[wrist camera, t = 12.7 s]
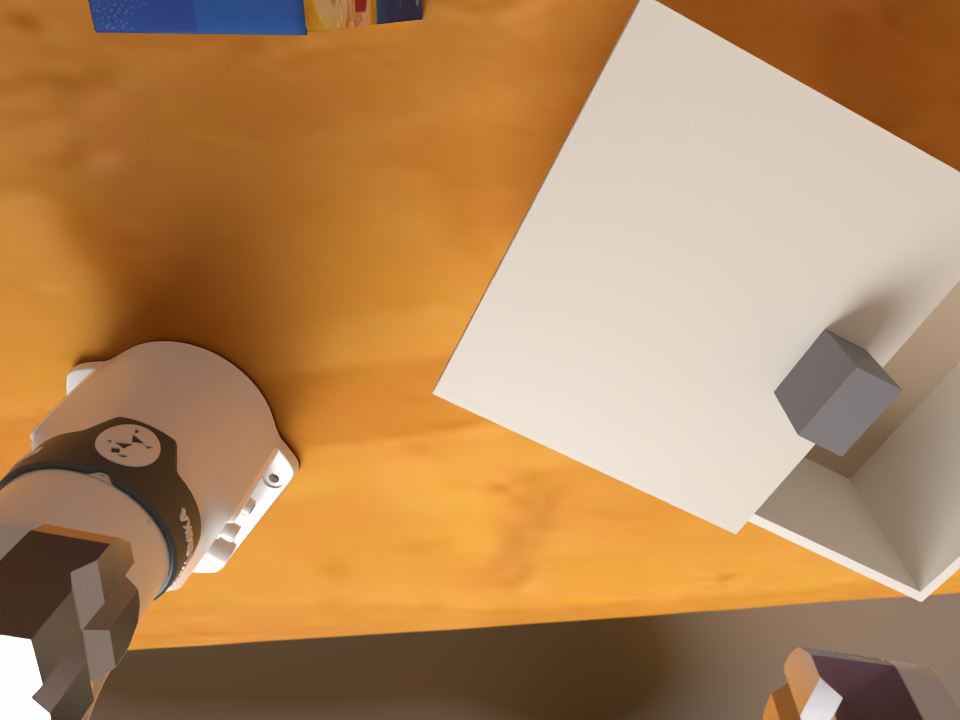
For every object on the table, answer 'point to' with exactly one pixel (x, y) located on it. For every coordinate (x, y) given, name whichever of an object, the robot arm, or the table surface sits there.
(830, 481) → the carton
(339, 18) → the beverage box
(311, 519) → the table surface
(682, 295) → the lid
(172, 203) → the table surface
